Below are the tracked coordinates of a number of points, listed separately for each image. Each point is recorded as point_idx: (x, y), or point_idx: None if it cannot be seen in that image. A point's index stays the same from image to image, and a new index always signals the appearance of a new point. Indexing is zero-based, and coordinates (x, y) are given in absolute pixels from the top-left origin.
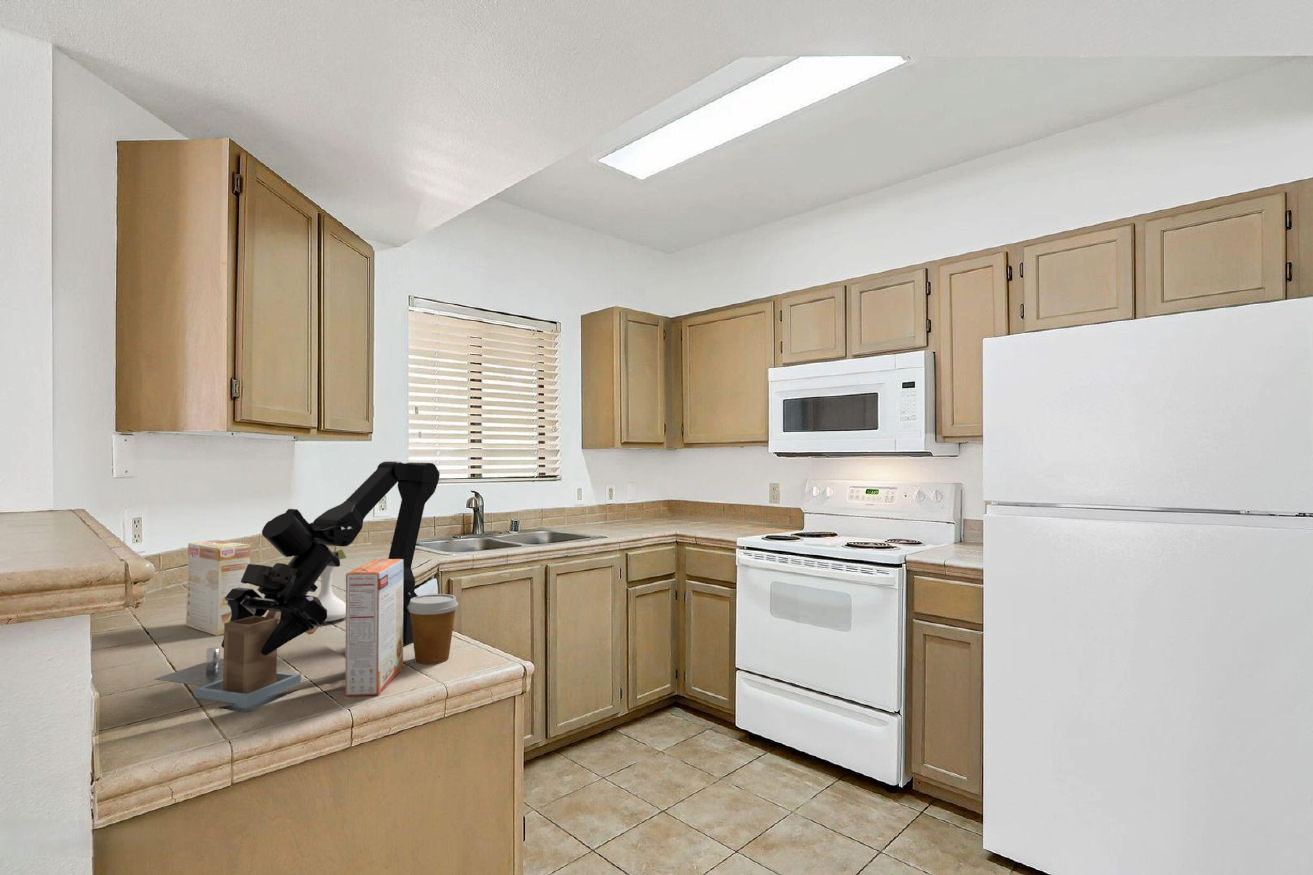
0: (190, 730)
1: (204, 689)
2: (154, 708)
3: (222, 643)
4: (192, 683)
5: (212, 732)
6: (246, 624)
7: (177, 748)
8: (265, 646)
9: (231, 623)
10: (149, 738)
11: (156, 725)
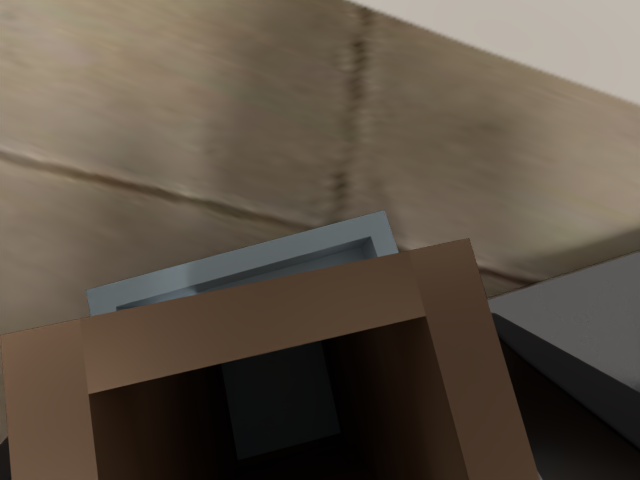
0: (125, 112)
1: (345, 228)
2: (444, 139)
3: (496, 318)
4: (557, 286)
5: (35, 140)
6: (145, 379)
7: (9, 29)
8: (2, 455)
9: (380, 281)
10: (176, 25)
11: (272, 79)
